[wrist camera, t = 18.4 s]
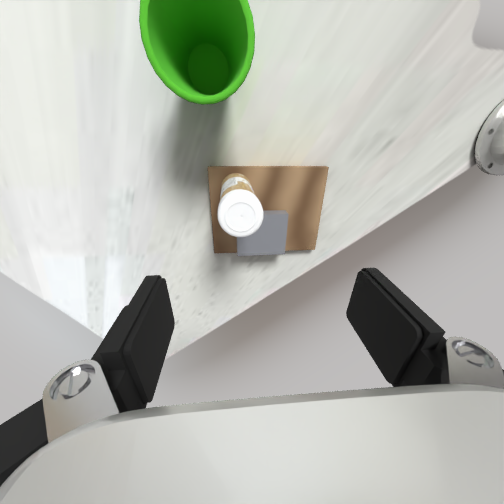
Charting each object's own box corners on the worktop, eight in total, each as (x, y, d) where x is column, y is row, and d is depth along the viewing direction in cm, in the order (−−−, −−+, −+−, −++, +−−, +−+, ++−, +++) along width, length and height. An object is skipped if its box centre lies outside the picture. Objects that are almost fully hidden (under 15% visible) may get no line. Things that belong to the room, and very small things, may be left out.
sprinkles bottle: (256, 192, 33) (272, 222, 21) (232, 208, 34) (235, 246, 22) (239, 165, 31) (247, 183, 19) (214, 183, 32) (207, 211, 20)
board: (325, 166, 34) (328, 167, 33) (312, 246, 40) (314, 249, 39) (208, 166, 32) (207, 167, 31) (214, 250, 39) (214, 253, 38)
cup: (219, 130, 30) (215, 127, 20) (157, 78, 27) (118, 45, 17) (259, 65, 27) (277, 25, 17) (195, -2, 24) (174, -96, 14)
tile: (288, 214, 33) (236, 215, 32) (284, 254, 37) (237, 255, 36) (285, 209, 35) (235, 210, 34) (281, 248, 38) (236, 249, 38)
